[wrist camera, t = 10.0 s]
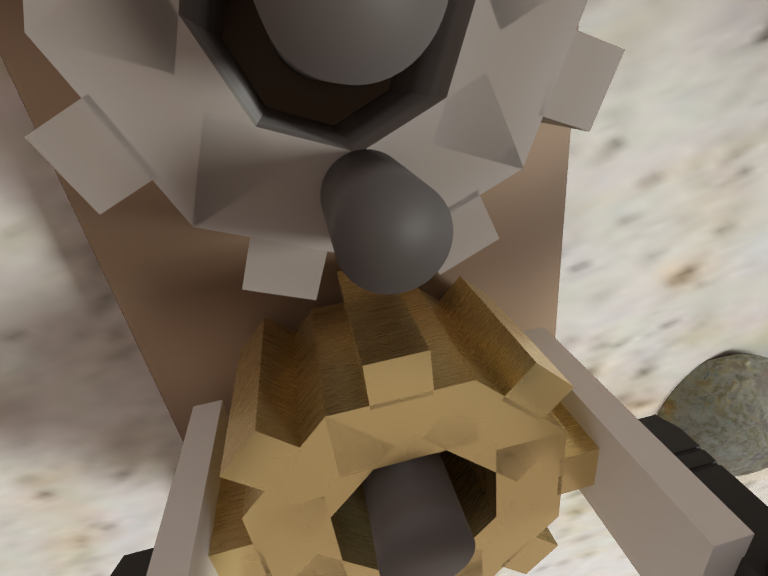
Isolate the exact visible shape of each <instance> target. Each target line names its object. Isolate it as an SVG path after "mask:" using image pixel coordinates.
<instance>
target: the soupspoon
mask: <svg viewBox="0 0 768 576" xmlns="http://www.w3.org/2000/svg"><path fill="white" fill-rule="evenodd" d="M658 416H659V417H661V418H663V419H664V420H666V421H668V422H670V423H672V424H674V425H676V426H677V427H679V428H681V429H682V430H683V431H684V432H685V433H686V434H687V435H689V436H690V437H691V438H692V439H693V440H694V441H695V442H696V443H697V444H699V445H700V448H701V449H702V450H705V451H706V452H707V453H709V454H710V455H711V456H712V457H713V458H714V459H715V460H716V461H717V463H718V465H722V466H723V467H724V468H725V469H726V470H727V471H729V472H730V473H731V474H732V475H733V476H741V475H747V474H750V473H754V472H757V471H760V470H763V469H765V468H768V358H766V357H762V356H755V355H752V354H742V353H741V354H737V355H736V354H734V355H729V356H724V357H720V358H718V357H717V358H716V359H710V360H707V361H705V362H704V363H702V364H701V365H699V366H698V367H697V368H695V369H694V370H693V371H692V372H691V373H690V374H689V375H688V376H686V377H685V378H684V379H683V380H682V381H681V383H680V384H679V385H678V386H677V387H676V388H675V389H674V391H673V392H672V393H671V394H670V396H669V397H668V398H667V400H666V401H665V403H664V404H663V406H662V408H661V410H660V411H659V413H658Z"/></svg>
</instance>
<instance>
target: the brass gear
mask: <svg viewBox="0 0 768 576" xmlns="http://www.w3.org/2000/svg"><path fill="white" fill-rule="evenodd" d="M337 275H338V280H339V285H340V290H341V295H342V301H343V303H338V304H334V305H329V306H324V307H319V308H315V309H312V310H311V311H310V313H309V314H308V315H307V317H306V318H305V319H304V321H303V322H302V323H301V325H300V326H299V327H298V329H297V330H296V331H295V332H293V331H292V330H290V329H288V328H286V327H284V326H282V325H280V324H278V323H276V322H274V321H272V320H270V319H268V318H266V317H264V318H263V319H262V321H261V322H260V324H259V325H258V326H257V328H256V329H255V331H254V332H253V333H252V335H251V336H250V338H249V339H248V340H247V342H246V343H245V345H244V346H243V347H242V349H241V350H240V353H239V359H238V365H237V372H236V378H235V384H234V390H233V397H232V403H231V409H230V415H229V421H228V428H227V434H226V440H225V446H224V453H223V459H222V465H221V471H220V477H221V481H220V488H219V494H218V500H217V506H216V512H215V519H214V525H213V531H212V537H211V543H210V549H209V556H208V557H209V558H210V560H211V562H212V564H213V566H214V568H215V570H216V572H217V574H218V576H380V574H379V569H378V564H377V558H376V553H375V548H374V542H373V537H372V532H371V526H370V521H369V516H368V510H367V505H366V500H365V495H364V489H363V484H362V482H363V481H364V480H365V479H366V478H367V476H368V475H369V474H370V473H371V472H372V471H373V470H374V469H377V468H381V467H384V466H388V465H392V464H396V463H400V462H403V461H407V460H411V459H415V458H419V457H422V456H426V455H430V454H434V453H438V452H439V453H440V456H441V458H442V461H443V463H444V466H445V468H446V471H447V473H448V475H449V478H450V480H451V483H452V485H453V488H454V490H455V493H456V495H457V498H458V500H459V503H460V505H461V507H462V510H463V512H464V515H465V517H466V520H467V522H468V525H469V527H470V530H471V532H472V534H473V537H474V540H475V544H476V546H475V552H474V555H473V557H472V558H471V560H470V562H469V563H468V564H467V565H466V566H465V567H464V568H463V569H462V570H461V571H460V572H459V573H457V574H456V575H455V576H494V575H495V574H496V573H497V572H498V571H499V570H500V569H502V568H503V567H505V568H509V569H512V570H515V571H518V572H521V573H524V574H527V573H528V572H529V571H530V570H531V569H532V568H533V567H534V566H536V565H537V564H538V563H539V562H540V561H541V560H542V559H543V558H544V557H546V556H547V555H548V554H549V553H550V552H551V551H552V550H553V549H554V548H556V547H557V546H558V545H557V543H556V541H555V540H554V538H553V536H552V535H551V533H550V531H549V529H548V528H547V526H548V525H549V524H551V523H552V522H553V521H554V520H555V519H556V518H557V517H558V516H559V507H560V497H561V494H563V493H567V492H570V491H574V490H577V489H581V488H584V487H588V486H591V485H594V482H595V475H596V469H597V462H598V456H599V447H598V446H597V445H596V444H595V443H594V441H593V440H592V439H591V438H590V437H589V435H588V434H587V433H586V432H585V431H584V429H583V428H582V427H581V426H580V425H579V424H578V422H577V421H576V420H575V419H574V418H573V416H572V415H571V414H570V413H569V412H568V410H567V409H566V408H565V407H564V406H563V404H562V403H561V402H560V401H561V400H562V399H563V398H564V397H565V396H566V395H567V394H568V393H569V392H570V391H571V390H572V389H573V388H574V386H573V385H572V384H571V383H570V382H569V381H568V380H567V379H566V378H565V377H564V375H563V374H562V373H561V372H560V371H559V370H558V369H557V368H556V367H555V366H554V365H553V364H552V363H551V362H550V360H549V359H548V358H547V357H546V356H545V355H544V354H543V353H542V352H541V351H540V350H539V349H538V348H537V347H536V345H535V344H534V343H533V342H532V341H531V340H530V339H529V338H528V337H527V336H526V335H525V334H524V333H523V332H522V330H521V329H520V328H519V327H518V326H517V325H516V324H515V323H514V322H513V321H512V320H511V319H510V318H509V317H508V315H507V314H506V313H505V312H504V311H503V310H502V309H501V308H500V307H499V306H498V305H497V304H496V303H495V302H494V300H493V299H492V298H491V297H490V296H488V295H487V294H485V293H484V292H483V291H481V290H480V289H478V288H477V287H475V286H474V285H473V284H471V283H470V282H468V281H467V280H465V279H464V278H463V277H461V276H459V277H458V279H457V280H456V281H455V282H454V284H453V285H452V286H451V287H450V288H449V290H448V291H447V292H446V293H445V294H444V296H443V297H442V298H441V299H440V300H439V301H438V300H436V299H435V298H433V297H432V296H430V295H429V294H427V293H426V292H424V291H423V290H421V289H419V288H418V287H417V288H415V289H413V290H410V291H408V292H404V293H399V294H387V295H386V294H378V293H373V292H370V291H367V290H364V289H363V288H361V287H359V286H357V285H356V284H354V283H353V282H352V281H351V280H350V279H349V278H347V276H346V275H345V274H344V273H343V271H337Z"/></svg>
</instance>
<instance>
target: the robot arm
mask: <svg viewBox="0 0 768 576" xmlns="http://www.w3.org/2000/svg"><path fill="white" fill-rule="evenodd" d="M523 333H524V334H525V335H526V336H527V337H528V338H529V339H530V340H531V341H532V342H533V343H534V344H535V345H536V347H537V348H538V349H539V350H540V351H541V352H542V353H543V354H544V355H545V356H546V357H547V358H548V359H549V360H550V362H551V363H552V364H553V365H554V366H555V367H556V368H557V369H558V370H559V371H560V372H561V373H562V374H563V375H564V377H565V378H566V379H567V380H568V381H569V382H570V383H571V384H572V385H573V386H574V388H573V389H572V390H571V391H570V392H569V393H568V394H567V395H566V396H565V397H564V398H563V399H562V400H561V401H560V402H561V403H562V404H563V406H564V407H565V408H566V409H567V410H568V412H569V413H570V414H571V415H572V416H573V418H574V419H575V420H576V421H577V422H578V424H579V425H580V426H581V427H582V428H583V429H584V431H585V432H586V433H587V434H588V435H589V437H590V438H591V439H592V440H593V441H594V443H595V444H596V445H597V446H598V447H599V456H598V462H597V469H596V475H595V482H594V485H591V486H588V487H584V488H581V489H580V491H581V492H582V494H583V495H584V497H585V498H586V499H587V501H588V502H589V504H590V505H591V506H592V508H593V509H594V511H595V512H596V514H597V515H598V516H599V518H600V519H601V521H602V522H603V523H604V525H605V526H606V528H607V529H608V531H609V532H610V533H611V535H612V536H613V538H614V539H615V540H616V542H617V543H618V545H619V546H620V548H621V549H622V550H623V552H624V553H625V555H626V556H627V557H628V559H629V560H630V562H631V563H632V565H633V566H634V567H635V569H636V570H637V572H638V573H639V574H640V576H768V506H766V505H765V504H764V503H763V502H762V501H761V500H760V499H759V498H758V497H756V496H755V495H754V494H753V493H752V492H751V491H750V490H749V489H748V488H746V487H745V486H744V485H743V484H742V483H741V482H740V481H739V480H738V479H736V478H735V477H734V476H733V475H732V474H731V473H730V472H729V471H727V470H726V469H725V468H724V467H723V466H722V465H718V463H717V461H716V460H715V459H714V458H713V457H712V456H711V455H710V454H709V453H707V452H706V451H705V450H702V449H701V448H700V445H699V444H697V443H696V442H695V441H694V440H693V439H692V438H691V437H690V436H689V435H687V434H686V433H685V432H684V431H683V430H682V429H681V428H679V427H677V426H676V425H674V424H672V423H670V422H668V421H666V420H664V419H663V418H661V417H659V416H657V415H652V416H649V417H645V418H641V419H637V418H636V417H635V416H634V415H633V414H632V413H631V412H630V411H629V410H628V409H627V408H626V407H625V406H624V405H623V404H622V403H621V402H620V401H619V400H618V399H617V398H616V397H615V396H614V395H613V394H612V393H611V392H610V391H609V390H608V389H606V388H605V387H604V386H603V385H602V384H601V383H600V382H599V381H598V380H597V379H596V378H595V377H594V376H593V375H592V374H591V373H590V372H589V371H588V370H587V369H586V368H585V367H584V366H583V365H582V364H581V363H580V362H579V361H578V360H577V359H576V358H575V357H574V356H573V355H572V354H571V353H570V352H569V351H568V350H567V349H566V348H565V347H564V346H563V345H562V344H561V343H560V342H559V341H558V340H557V339H556V338H555V337H553V336H552V335H551V334H550V333H549V332H548V331H547V330H546V329H545V328H544V327H541V328H537V329H532V330H528V331H523ZM228 421H229V416H228V413H227V411H226V408H225V405H224V403H223V400H219V401H215V402H210V403H206V404H202V405H197V406H194V407H193V410H192V414H191V417H190V421H189V424H188V428H187V432H186V435H185V439H184V442H183V446H182V450H181V453H180V457H179V460H178V464H177V467H176V471H175V475H174V478H173V482H172V485H171V489H170V492H169V496H168V500H167V503H166V507H165V510H164V514H163V518H162V521H161V525H160V528H159V532H158V535H157V539H156V543H155V546H154V548H151V549H147V550H143V551H140V552H136V553H132V554H128V555H125V556H123V558H122V559H121V561H120V562H119V564H118V565H117V567H116V568H115V570H114V571H113V572H112V574H111V575H110V576H218V574H217V572H216V570H215V568H214V566H213V564H212V562H211V560H210V558H209V557H208V556H209V549H210V543H211V537H212V531H213V525H214V519H215V512H216V506H217V500H218V494H219V488H220V481H221V477H220V471H221V465H222V459H223V453H224V446H225V440H226V434H227V428H228Z"/></svg>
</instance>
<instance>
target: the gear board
mask: <svg viewBox="0 0 768 576" xmlns="http://www.w3.org/2000/svg"><path fill="white" fill-rule="evenodd" d="M586 3H587V0H0V55H1V57H2V59H3V61H4V64H5V66H6V68H7V70H8V72H9V74H10V76H11V78H12V80H13V83H14V85H15V87H16V89H17V91H18V93H19V95H20V97H21V100H22V102H23V104H24V106H25V108H26V110H27V112H28V114H29V116H30V119H31V121H32V123H33V125H34V127H35V130H34V131H32V132H31V133H29V134H28V135H26V136H25V137H24V138H25V139H26V140H27V141H28V142H29V143H30V144H31V145H32V146H33V147H34V148H35V149H36V150H37V151H38V152H39V153H40V154H41V155H42V156H43V157H44V158H45V159H46V160H47V161H48V162H49V163H50V164H51V165H52V166H53V167H54V169H55V171H56V174H57V176H58V178H59V180H60V182H61V184H62V186H63V188H64V190H65V193H66V195H67V197H68V199H69V201H70V203H71V205H72V207H73V209H74V212H75V214H76V216H77V218H78V220H79V222H80V224H81V226H82V228H83V231H84V233H85V235H86V237H87V239H88V241H89V243H90V245H91V248H92V250H93V252H94V254H95V256H96V258H97V260H98V262H99V264H100V267H101V269H102V271H103V273H104V275H105V277H106V279H107V281H108V283H109V286H110V288H111V290H112V292H113V294H114V296H115V298H116V300H117V303H118V305H119V307H120V309H121V311H122V313H123V315H124V317H125V319H126V322H127V324H128V326H129V328H130V330H131V332H132V334H133V336H134V338H135V341H136V343H137V345H138V347H139V349H140V351H141V353H142V355H143V357H144V360H145V362H146V364H147V366H148V368H149V370H150V372H151V374H152V377H153V379H154V381H155V383H156V385H157V387H158V389H159V391H160V393H161V396H162V398H163V400H164V402H165V404H166V406H167V408H168V410H169V412H170V415H171V417H172V419H173V421H174V423H175V425H176V427H177V429H178V431H179V434H180V436H181V438H182V440H183V442H184V439H185V435H186V432H187V428H188V424H189V421H190V417H191V414H192V410H193V407H194V406H197V405H202V404H206V403H210V402H215V401H219V400H223V403H224V405H225V408H226V411H227V413H228V416H229V415H230V409H231V403H232V397H233V390H234V384H235V378H236V372H237V365H238V359H239V353H240V350H241V349H242V347H243V346H244V345H245V343H246V342H247V340H248V339H249V338H250V336H251V335H252V333H253V332H254V331H255V329H256V328H257V326H258V325H259V324H260V322H261V321H262V319H263V318H264V317H266V318H268V319H270V320H272V321H274V322H276V323H278V324H280V325H282V326H284V327H286V328H288V329H290V330H292V331H293V332H295V331H296V330H297V329H298V327H299V326H300V325H301V323H302V322H303V321H304V319H305V318H306V317H307V315H308V314H309V313H310V311H311V310H312V309H315V308H319V307H324V306H329V305H334V304H338V303H343V301H342V295H341V290H340V285H339V280H338V275H337V271H343V273H344V274H345V275H346V276H347V278H349V279H350V280H351V281H352V282H353V283H354V284H356V285H357V286H359V287H361V288H363V289H364V290H367V291H370V292H373V293H378V294H386V295H387V294H399V293H404V292H408V291H410V290H413V289H415V288H417V287H418V288H419V289H421V290H423V291H424V292H426V293H427V294H429V295H430V296H432V297H433V298H435V299H436V300H438V301H439V300H440V299H441V298H442V297H443V296H444V294H445V293H446V292H447V291H448V290H449V288H450V287H451V286H452V285H453V284H454V282H455V281H456V280H457V279H458V277H459V276H461V277H463V278H464V279H465V280H467V281H468V282H470V283H471V284H473V285H474V286H475V287H477V288H478V289H480V290H481V291H483V292H484V293H485V294H487V295H488V296H490V297H491V298H492V299H493V300H494V302H495V303H496V304H497V305H498V306H499V307H500V308H501V309H502V310H503V311H504V312H505V313H506V314H507V315H508V317H509V318H510V319H511V320H512V321H513V322H514V323H515V324H516V325H517V326H518V327H519V328H520V329H521V330H522V332H523V331H528V330H532V329H537V328H541V327H544V328H545V329H546V330H547V331H548V332H549V333H550V334H551V335H552V336H553V337H555V331H556V318H557V305H558V291H559V278H560V264H561V251H562V237H563V224H564V210H565V197H566V184H567V170H568V157H569V143H570V130H571V128H573V129H579V130H584V131H590V130H591V127H592V125H593V123H594V120H595V118H596V116H597V113H598V111H599V109H600V106H601V104H602V102H603V99H604V97H605V95H606V92H607V90H608V88H609V85H610V83H611V81H612V78H613V76H614V74H615V71H616V69H617V67H618V64H619V62H620V60H621V57H622V55H623V53H624V50H625V49H622V48H619V47H617V46H614V45H612V44H609V43H607V42H604V41H602V40H599V39H597V38H594V37H592V36H589V35H587V34H584V33H582V32H579V31H578V24H579V21H580V19H581V16H582V13H583V11H584V8H585V6H586ZM362 484H363V489H364V495H365V500H366V505H367V510H368V516H369V521H370V526H371V532H372V537H373V542H374V548H375V553H376V558H377V564H378V569H379V574H380V576H455V575H456V574H457V573H459V572H460V571H461V570H462V569H463V568H464V567H465V566H466V565H467V564H468V563H469V562H470V560H471V558H472V557H473V555H474V552H475V546H476V544H475V540H474V537H473V534H472V532H471V530H470V527H469V525H468V522H467V520H466V517H465V515H464V512H463V510H462V507H461V505H460V503H459V500H458V498H457V495H456V493H455V490H454V488H453V485H452V483H451V480H450V478H449V475H448V473H447V471H446V468H445V466H444V463H443V461H442V458H441V456H440V453H439V452H438V453H434V454H430V455H426V456H422V457H419V458H415V459H411V460H407V461H403V462H400V463H396V464H392V465H388V466H384V467H381V468H377V469H374V470H373V471H372V472H371V473H370V474H369V475H368V476H367V478H366V479H365V480H364V481H363V482H362Z"/></svg>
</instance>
